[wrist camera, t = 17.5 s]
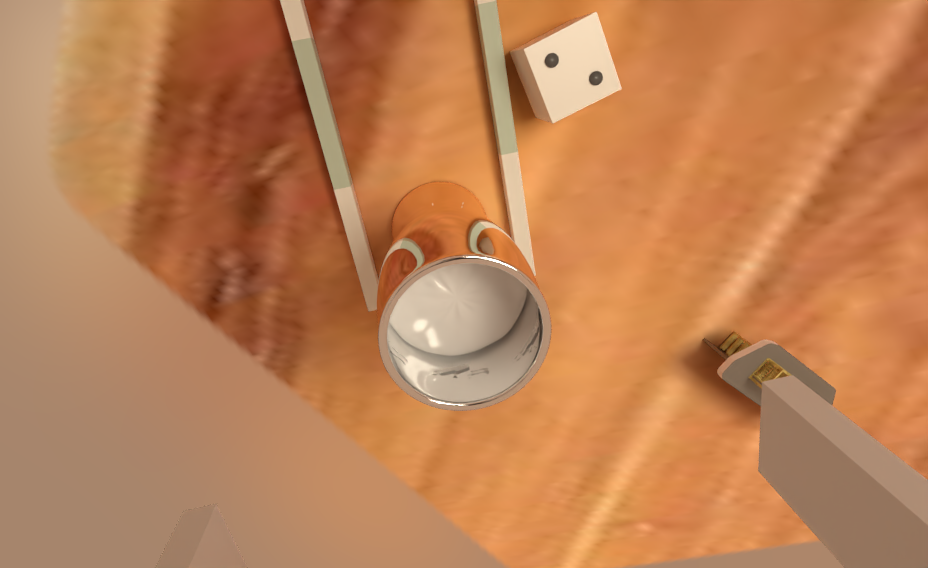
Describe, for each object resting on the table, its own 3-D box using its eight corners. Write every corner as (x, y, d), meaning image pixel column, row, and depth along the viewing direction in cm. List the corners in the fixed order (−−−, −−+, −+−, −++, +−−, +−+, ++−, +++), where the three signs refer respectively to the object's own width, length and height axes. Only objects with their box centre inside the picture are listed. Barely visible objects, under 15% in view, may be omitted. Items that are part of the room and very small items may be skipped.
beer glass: (508, 257, 35) (578, 378, 21) (410, 295, 35) (415, 440, 21) (472, 156, 32) (525, 220, 18) (366, 198, 32) (339, 292, 19)
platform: (720, 225, 36) (784, 255, 30) (870, 351, 42) (951, 398, 36) (606, 355, 39) (644, 406, 33) (761, 457, 44) (817, 517, 38)
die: (509, 51, 30) (524, 49, 27) (572, 19, 30) (597, 11, 26) (535, 117, 32) (553, 123, 28) (596, 86, 32) (622, 88, 28)
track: (245, -135, 26) (239, -144, 25) (466, -176, 26) (469, -188, 25) (369, 303, 35) (368, 311, 34) (531, 269, 35) (535, 275, 34)
